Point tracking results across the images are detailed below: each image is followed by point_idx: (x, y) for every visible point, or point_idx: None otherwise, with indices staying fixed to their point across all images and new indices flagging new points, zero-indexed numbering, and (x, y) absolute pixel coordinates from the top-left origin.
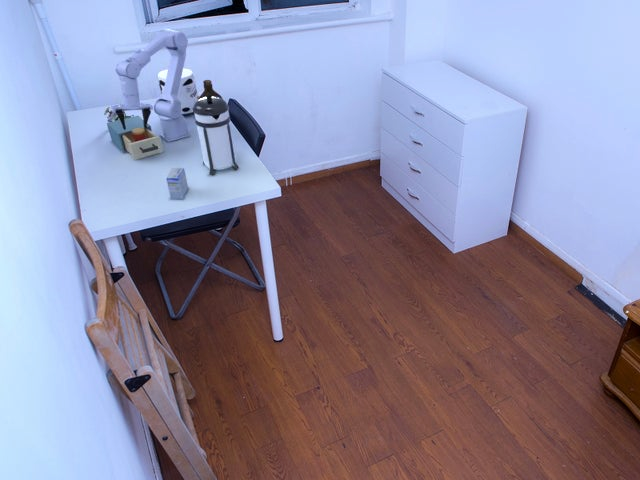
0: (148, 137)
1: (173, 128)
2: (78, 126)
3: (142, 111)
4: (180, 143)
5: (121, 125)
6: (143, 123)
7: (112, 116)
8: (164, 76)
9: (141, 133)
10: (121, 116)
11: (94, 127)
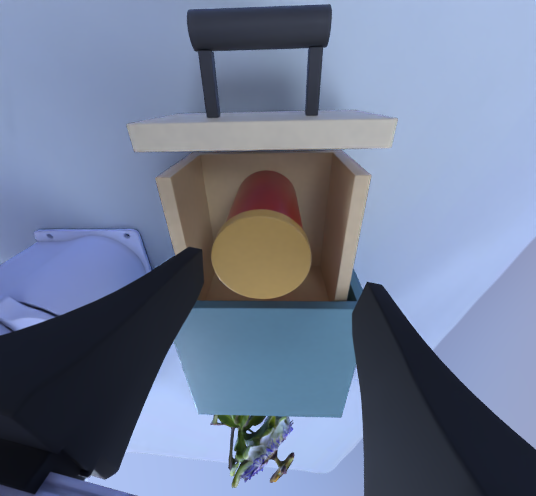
0: (209, 263)
1: (59, 266)
2: (347, 433)
3: (117, 434)
4: (82, 184)
5: (301, 378)
6: (192, 306)
7: (278, 440)
8: None
9: (254, 210)
10: (494, 447)
11: (319, 417)
